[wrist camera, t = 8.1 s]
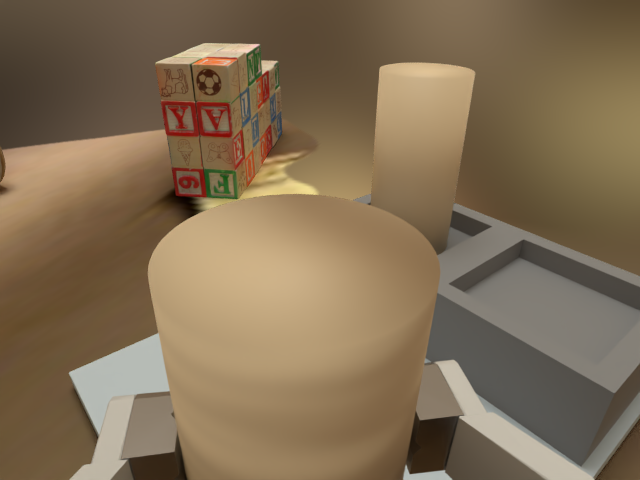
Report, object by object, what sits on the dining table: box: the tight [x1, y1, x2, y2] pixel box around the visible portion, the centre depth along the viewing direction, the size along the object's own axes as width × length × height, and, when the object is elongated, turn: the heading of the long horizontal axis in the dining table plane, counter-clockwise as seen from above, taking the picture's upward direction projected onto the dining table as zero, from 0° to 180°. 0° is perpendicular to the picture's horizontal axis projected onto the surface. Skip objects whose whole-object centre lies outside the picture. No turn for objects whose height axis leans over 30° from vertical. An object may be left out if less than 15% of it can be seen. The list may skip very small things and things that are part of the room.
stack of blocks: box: [156, 43, 282, 199], centre depth 50 cm, size 21×6×12 cm, turn 173°
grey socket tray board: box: [69, 63, 640, 480], centre depth 20 cm, size 24×19×14 cm
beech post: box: [148, 194, 440, 480], centre depth 10 cm, size 5×5×10 cm
